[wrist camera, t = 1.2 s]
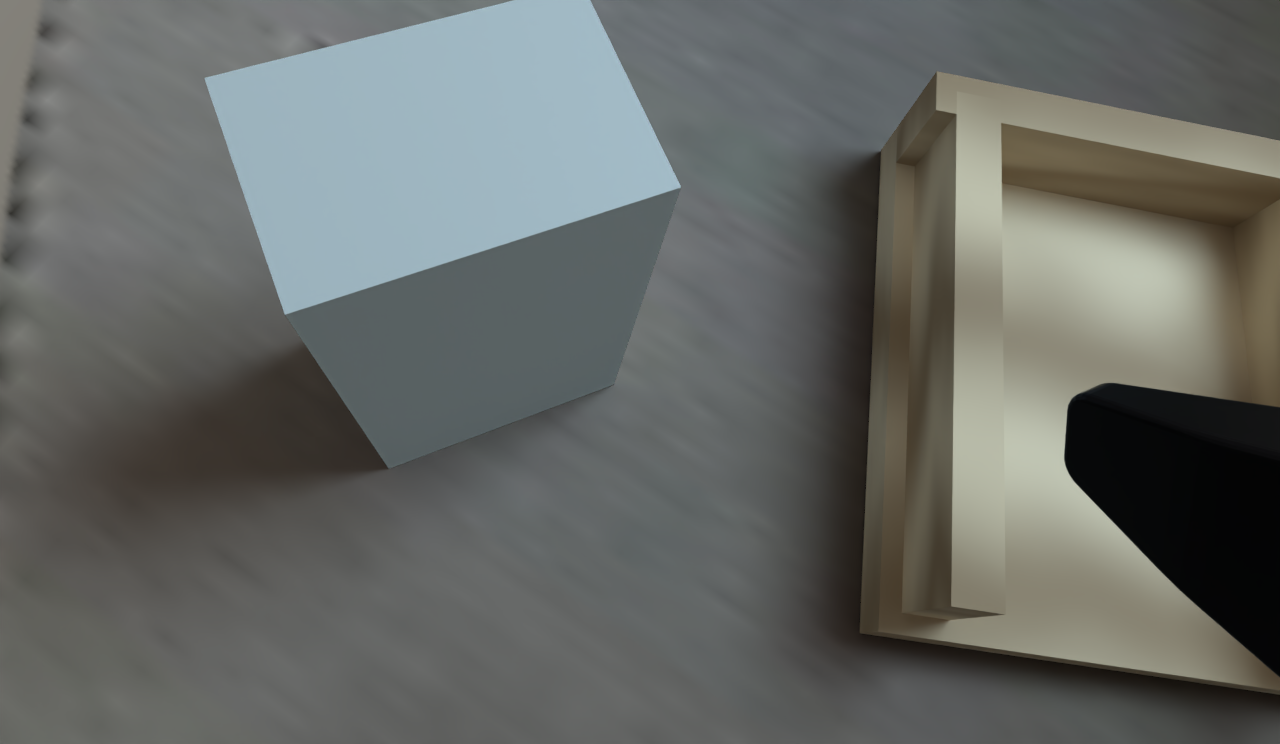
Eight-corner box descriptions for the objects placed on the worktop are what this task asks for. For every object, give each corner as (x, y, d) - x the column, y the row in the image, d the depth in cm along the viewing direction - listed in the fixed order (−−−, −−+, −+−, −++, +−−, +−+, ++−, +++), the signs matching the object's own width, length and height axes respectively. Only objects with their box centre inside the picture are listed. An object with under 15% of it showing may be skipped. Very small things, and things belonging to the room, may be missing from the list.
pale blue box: (613, 384, 23) (681, 187, 13) (388, 469, 21) (284, 314, 12) (556, 253, 24) (581, -17, 14) (338, 325, 22) (204, 77, 13)
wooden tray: (1307, 698, 22) (1481, 706, 18) (859, 633, 21) (939, 626, 17) (1251, 222, 27) (1380, 144, 23) (881, 150, 26) (947, 56, 22)
